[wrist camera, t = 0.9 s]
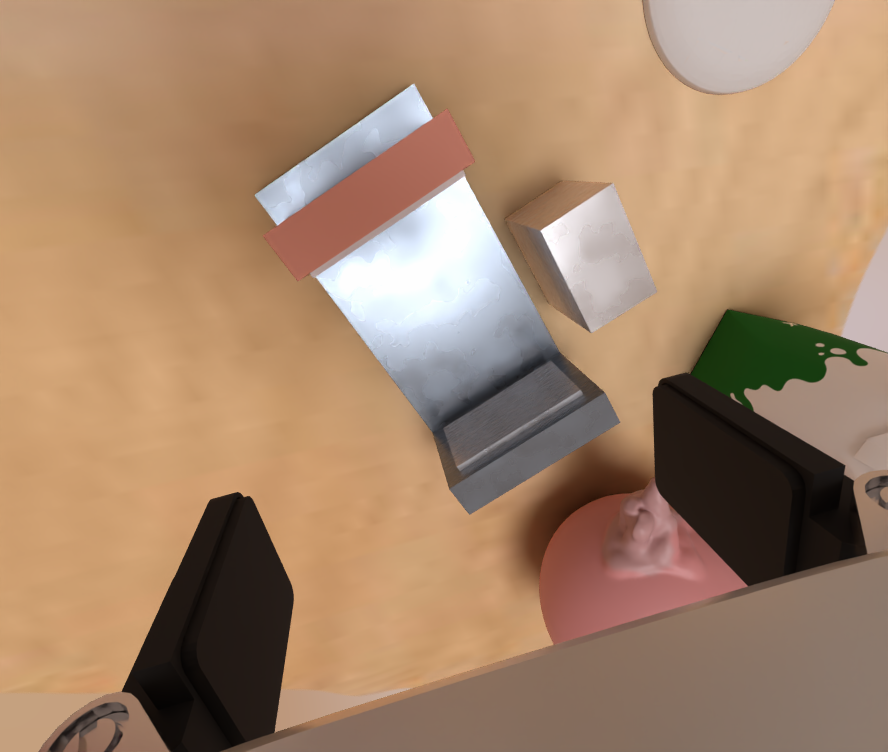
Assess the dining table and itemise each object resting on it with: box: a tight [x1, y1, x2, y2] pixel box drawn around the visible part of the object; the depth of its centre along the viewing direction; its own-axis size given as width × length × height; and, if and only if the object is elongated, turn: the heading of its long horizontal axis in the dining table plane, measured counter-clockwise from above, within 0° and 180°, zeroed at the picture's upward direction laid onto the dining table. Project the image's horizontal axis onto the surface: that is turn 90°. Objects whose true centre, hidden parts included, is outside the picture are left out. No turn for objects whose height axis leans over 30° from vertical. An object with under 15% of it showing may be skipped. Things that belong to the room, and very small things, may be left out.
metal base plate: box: [255, 84, 620, 515], centre depth 29 cm, size 11×22×8 cm, turn 31°
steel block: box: [505, 181, 657, 333], centre depth 30 cm, size 4×7×7 cm, turn 31°
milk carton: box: [691, 310, 888, 481], centre depth 31 cm, size 9×9×20 cm
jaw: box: [263, 109, 475, 281], centre depth 25 cm, size 10×3×7 cm, turn 121°
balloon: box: [539, 478, 748, 645], centre depth 36 cm, size 15×20×15 cm
